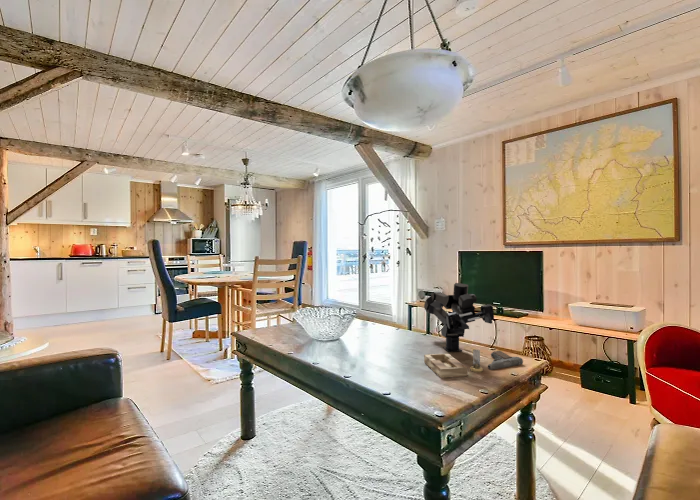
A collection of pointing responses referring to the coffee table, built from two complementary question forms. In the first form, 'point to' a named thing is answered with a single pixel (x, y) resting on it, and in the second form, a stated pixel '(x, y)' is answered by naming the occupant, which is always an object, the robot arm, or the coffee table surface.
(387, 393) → the coffee table surface
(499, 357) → the handgun
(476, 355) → the peg
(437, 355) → the keyhole board
